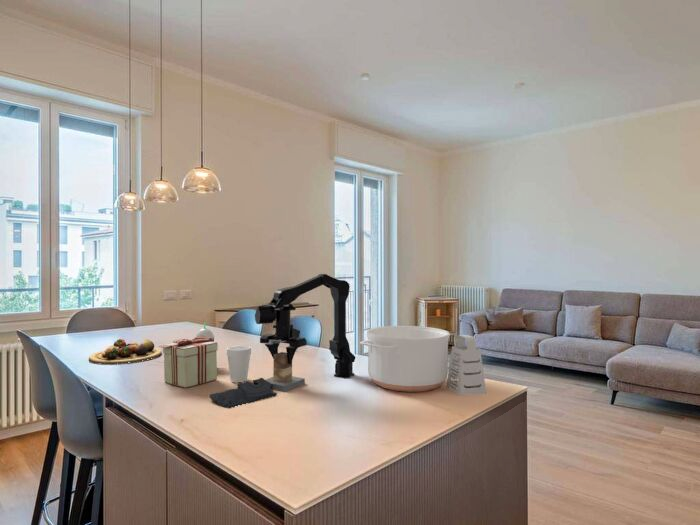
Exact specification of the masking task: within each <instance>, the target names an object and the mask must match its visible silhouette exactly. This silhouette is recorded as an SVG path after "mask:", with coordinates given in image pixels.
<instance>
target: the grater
mask: <svg viewBox="0 0 700 525" xmlns="http://www.w3.org/2000/svg"><path fill="white" fill-rule="evenodd" d="M481 352H482V351H481V348H479V347H477V340H476V337H475V336H472V335H468V334H457V336H456V345H452V346H451V352H450V353H451V354H450V357H449V358H450V359H449V364H448V374H447V379H446V386H445V388H447V389H448V390H450V391H452V392H454V393H456V395H459V396H469V395H470V396H471V395H482V394H487V387H486V381H485V380H486V379H485V373H484V367H483V366H484V365H483V358H482V353H481ZM468 387H469V388H468Z"/></svg>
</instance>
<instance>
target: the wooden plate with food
mask: <svg viewBox="0 0 700 525" xmlns="http://www.w3.org/2000/svg"><path fill="white" fill-rule="evenodd" d="M162 353H163V351H162V350H161V349H160V348H158V347H155V344H154V342H153V341H152V340H150V339H148V338H146V339H145V340H144V341H143V342H142V343H140V344H139V343H137V342H131V343H126V341H125V339H124V338H119V339H117V340H116V341H114V342H113V345H110V346H107V347H106V348H105V350H100V351H96V352H94V353H92V354H90V356H89V357H88V361H89V362H90V363H91V362H93V363H92V364H95V363H101V364H100V365H118V364H117V363H127V364H129V363H128V362H136V363H138V362H137V361H142V360H147V359H151V358H154V357H157V356H159V355H160V356H161V355H162ZM160 356H159V357H160ZM157 358H158V357H157ZM154 359H155V358H154ZM151 360H152V359H151ZM147 361H148V360H147ZM142 362H143V361H142Z"/></svg>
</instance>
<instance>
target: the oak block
mask: <svg viewBox="0 0 700 525" xmlns="http://www.w3.org/2000/svg"><path fill="white" fill-rule="evenodd" d="M272 370H273V376H272V377H273V381H279V382H286V381H289V380H292V376H293V366H292V367H289V368H286V369H280V368H274V366H273V369H272Z"/></svg>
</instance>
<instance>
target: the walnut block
mask: <svg viewBox="0 0 700 525" xmlns="http://www.w3.org/2000/svg"><path fill="white" fill-rule="evenodd" d="M273 367H274V368H280V369H286V368H289V367H292V368H293V361H292V362H291V364H288V359H287V351H285V352H284V351H280V352H278V353H277V354H274V359H273Z"/></svg>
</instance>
